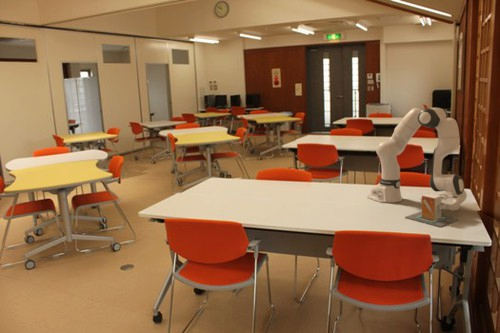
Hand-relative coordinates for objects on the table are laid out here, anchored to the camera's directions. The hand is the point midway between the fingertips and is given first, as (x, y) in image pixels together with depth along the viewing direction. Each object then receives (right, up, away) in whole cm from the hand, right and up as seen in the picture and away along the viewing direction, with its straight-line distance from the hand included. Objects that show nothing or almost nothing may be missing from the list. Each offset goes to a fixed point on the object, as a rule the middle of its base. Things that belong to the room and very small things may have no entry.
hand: (430, 205), depth 243 cm
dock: (+1, -8, +2) cm, 8 cm away
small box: (+1, -7, +2) cm, 8 cm away
